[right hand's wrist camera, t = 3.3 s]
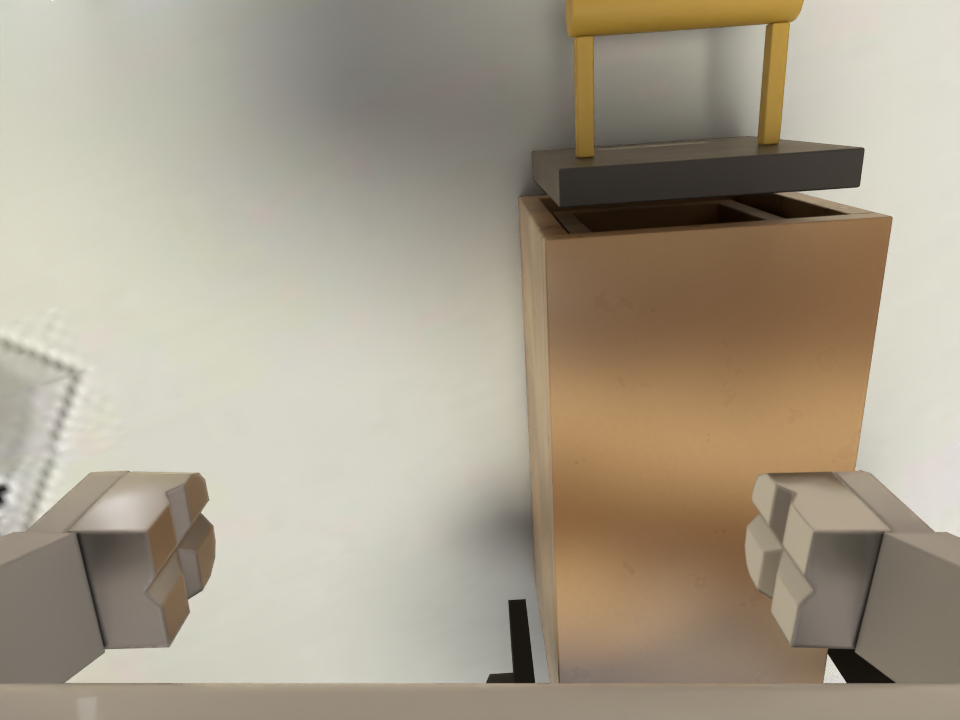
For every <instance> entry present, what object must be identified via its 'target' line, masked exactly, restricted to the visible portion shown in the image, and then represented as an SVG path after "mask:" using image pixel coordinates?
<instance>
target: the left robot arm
mask: <svg viewBox="0 0 960 720" xmlns="http://www.w3.org/2000/svg"><path fill="white" fill-rule="evenodd" d="M508 602H509V618H510V634H511V650H512V662H513V673H502V674H490V675H489V677H488V680H487V682H486V683H535V678H534V669H533V660H532V652H531V643H530V634H529V626H528V617H527V608H526V600H525V599H521V600H508ZM828 655H829V656H830V658H831V660H832V661H833V663H834V664H835V666H836V667H837V669H838V670H839V672H840V673H841V675H842V676H843V678H844V679H845V681H846V683H895V682H894V681H893V680H891V679H890V678H889V677H887V676H886V675H885V674H883V673H882V672H881V671H879V670H878V669H877V668H875V667H874V666H873V665H872V664H870V663H869V662H868V661H866V660H865V659H864V658H862V657H861V656H860V655H858V654H857V653H856V652H855V649H833V648H828Z"/></svg>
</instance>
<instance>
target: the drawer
mask: <svg viewBox="0 0 960 720" xmlns="http://www.w3.org/2000/svg"><path fill="white" fill-rule="evenodd" d="M803 1H804V0H566V28H567V33H568V36H569V37H570V38H574V37H576V38H575V39H574V87H575V148H574V149H559V150H545V151H533V152H532V175H533V180H534V181H535V182H536V183H537V184H538V185H539V186H540V187H541V188H542V189H543V190H544V191H545V192H546V193H547V194H548V195H549V196H550V197H551V198H552V199H553V201H554V202H555V203H556V204H557V205H558V206H559V207H561V208H567V207H581V206H595V205H610V204H624V203H639V202H653V201H668V200H682V199H696V198H711V197H725V196H740V195H754V194H769V193H783V192H798V191H812V190H826V189H841V188H855V187H859V186H860V180H861V173H862V165H863V157H864V148H862V147H852V146H842V145H832V144H822V143H811V142H801V141H791V140H781V139H780V129H781V118H782V107H783V95H784V84H785V72H786V61H787V49H788V38H789V26H790V23H789V22H792V21H794V20H795V19H796V18H797V17H798V15H799V13H800V11H801V8H802V5H803ZM760 24H768V25H767V26H766V35H765V48H764V61H763V74H762V88H761V101H760V114H759V127H758V137H751V136H746V137H732V138H717V139H703V140H689V141H674V142H660V143H645V144H631V145H617V146H602V147H594V38H593V36H603V35H617V34H632V33H646V32H660V31H675V30H689V29H703V28H717V27H732V26H746V25H760ZM552 215H553V216H554V217H555V219H556V220H557V221H558V222H559V224H560V225H561V226H562V227H563V228H564V230H565V231H566V232H567V233H568V234H575V233H589V232H603V231H618V230H632V229H647V228H661V227H676V226H690V225H705V224H719V223H734V222H748V221H762V220H777V219H785V218H782V217H779V216H776V215H773V214H770V213H767V212H765V211H762V210H759V209H756V208H753V207H750V206H747V205H744V204H741V203H738V202H736V201H733V200H730V199H729V200H714V201H700V202H685V203H671V204H656V205H642V206H628V207H613V208H599V209H584V210H570V211H555V212H553V213H552Z"/></svg>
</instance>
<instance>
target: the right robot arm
mask: <svg viewBox="0 0 960 720" xmlns="http://www.w3.org/2000/svg"><path fill="white" fill-rule="evenodd" d="M208 501H209V497H208V492H207V487H206V482H205V479H204V478H203V477H202V476H201V475H200V474H199V473H184V472H129V471H102V472H92V473H89V474H88V475H87V476H86V477H85V478H84V479H83V480H82V481H81V482H79V483H78V484H77V485H76V486H75V487H74V488H73V489H72V490H71V491H70V492H68V493H67V494H66V495H65V496H64V497H63V498H62V499H61V500H60V501H59V502H57V503H56V504H55V505H54V506H53V507H52V508H51V509H50V510H49V511H48V512H46V513H45V514H44V515H43V516H42V517H41V518H40V519H39V520H38V521H37V522H35V523H34V524H33V525H32V526H31V527H30V528H29V529H28V530H27V531H26V532H13V533H10V534H8V535H5V536H3V537H1V538H0V720H960V538H959V537H957V536H955V535H952V534H950V533H947V532H934V531H933V530H932V529H931V528H930V527H929V526H928V525H927V524H926V523H925V522H924V521H922V520H921V519H920V518H919V517H918V516H917V515H916V514H915V513H914V512H913V511H911V510H910V509H909V508H908V507H907V506H906V505H905V504H904V503H903V502H902V501H901V500H899V499H898V498H897V497H896V496H895V495H894V494H893V493H892V492H891V491H890V490H888V489H887V488H886V487H885V486H884V485H883V484H882V483H881V482H880V481H879V480H878V479H876V478H875V477H874V476H873V475H872V474H871V473H868V472H864V471H842V472H793V473H764V474H758V476H757V478H756V480H755V482H754V485H753V491H752V496H751V501H752V502H753V504H754V505H755V507H756V508H757V510H758V511H759V514H758V515H757V516H756V517H755V518H754V519H753V520H752V521H751V522H750V523H749V524H748V525H747V527H746V535H745V544H744V548H745V558H746V566H747V569H748V572H749V575H750V578H751V580H752V582H753V583H754V585H755V587H756V589H757V590H758V591H759V592H761V593H763V594H764V595H766V596H767V597H769V598H770V599H772V604H771V610H770V613H771V615H772V616H773V618H774V620H775V621H776V623H777V625H778V627H779V628H780V630H781V632H782V633H783V635H784V637H785V638H786V640H787V642H788V643H789V645H790V647H796V648H833V649H855V652H856V653H857V654H858V655H860V656H861V657H862V658H864V659H865V660H866V661H868V662H869V663H870V664H872V665H873V666H874V667H875V668H877V669H878V670H879V671H881V672H882V673H883V674H885V675H886V676H887V677H889V678H890V679H891V680H893V681H894V682H895V683H65V682H66V681H67V680H69V679H70V678H71V677H73V676H74V675H75V674H77V673H78V672H79V671H81V670H82V669H83V668H85V667H86V666H87V665H89V664H90V663H91V662H93V661H94V660H95V659H97V658H98V657H99V656H101V655H102V654H103V653H105V649H126V648H162V647H170V645H171V644H172V642H173V640H174V639H175V637H176V635H177V633H178V632H179V630H180V628H181V627H182V625H183V623H184V622H185V620H186V618H187V616H188V615H189V613H190V610H189V604H188V599H190V598H191V597H193V596H194V595H196V594H198V593H199V592H201V591H202V590H203V589H204V587H205V585H206V583H207V581H208V580H209V578H210V576H211V572H212V568H213V564H214V560H215V534H214V527H213V525H212V524H211V523H210V522H209V521H208V520H207V519H206V518H205V517H204V516H203V515H202V514H201V511H202V510H203V508H204V507H205V505H206V504H207V502H208Z"/></svg>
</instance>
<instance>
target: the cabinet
mask: <svg viewBox="0 0 960 720" xmlns="http://www.w3.org/2000/svg"><path fill="white" fill-rule="evenodd" d="M729 199H730V200H733V201H736V202H738V203H741V204H744V205H747V206H750V207H753V208H756V209H759V210H762V211H765V212H767V213H770V214H773V215H776V216H779V217H782V218H785V219H777V220H762V221H748V222H734V223H719V224H705V225H690V226H676V227H661V228H647V229H632V230H618V231H603V232H589V233H575V234H568V233H567V232H566V231H565V230H564V228H563V227H562V226H561V225H560V224H559V222H558V221H557V220H556V219H555V217H554V216H553V215H552V213H553V212H555V211H570V210H584V209H599V208H613V207H628V206H642V205H656V204H671V203H685V202H700V201H714V200H729ZM518 202H519V224H520V247H521V270H522V292H523V315H524V338H525V360H526V383H527V406H528V428H529V451H530V473H531V496H532V519H533V541H534V564H535V584H536V590H537V597H538V604H539V610H540V617H541V624H542V630H543V637H544V644H545V650H546V657H547V664H548V671H549V677H550V683H823V680H824V673H825V667H826V660H827V653H828V648H796V647H790V645H789V643H788V642H787V640H786V638H785V637H784V635H783V633H782V632H781V630H780V628H779V627H778V625H777V623H776V621H775V620H774V618H773V616H772V615H771V613H770V610H771V604H772V599H770V598H769V597H767V596H766V595H764V594H763V593H761V592H759V591H758V590H757V589H756V587H755V585H754V583H753V582H752V580H751V578H750V575H749V572H748V569H747V566H746V558H745V548H744V544H745V535H746V527H747V525H748V524H749V523H750V522H751V521H752V520H753V519H754V518H755V517H756V516H757V515H758V514H759V511H758V510H757V508H756V507H755V505H754V504H753V502H752V501H751V496H752V491H753V485H754V482H755V480H756V478H757V476H758V474H764V473H793V472H842V471H855V466H856V459H857V453H858V446H859V439H860V433H861V426H862V419H863V412H864V406H865V399H866V392H867V386H868V379H869V372H870V366H871V359H872V352H873V346H874V339H875V332H876V326H877V319H878V312H879V305H880V299H881V292H882V285H883V279H884V272H885V265H886V259H887V252H888V245H889V239H890V232H891V225H892V219H893V218H892V217H891V216H888V215H884V214H880V213H875V212H871V211H867V210H863V209H860V208H856V207H852V206H848V205H844V204H840V203H836V202H832V201H828V200H824V199H820V198H816V197H812V196H808V195H804V194H800V193H796V192H783V193H769V194H754V195H740V196H725V197H711V198H696V199H682V200H668V201H653V202H639V203H624V204H610V205H595V206H581V207H567V208H561V207H559V206H558V205H557V204H556V203H555V202H554V201H553V199H552V198H551V197H550V196H549V195H539V196H525V197H519V199H518Z"/></svg>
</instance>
